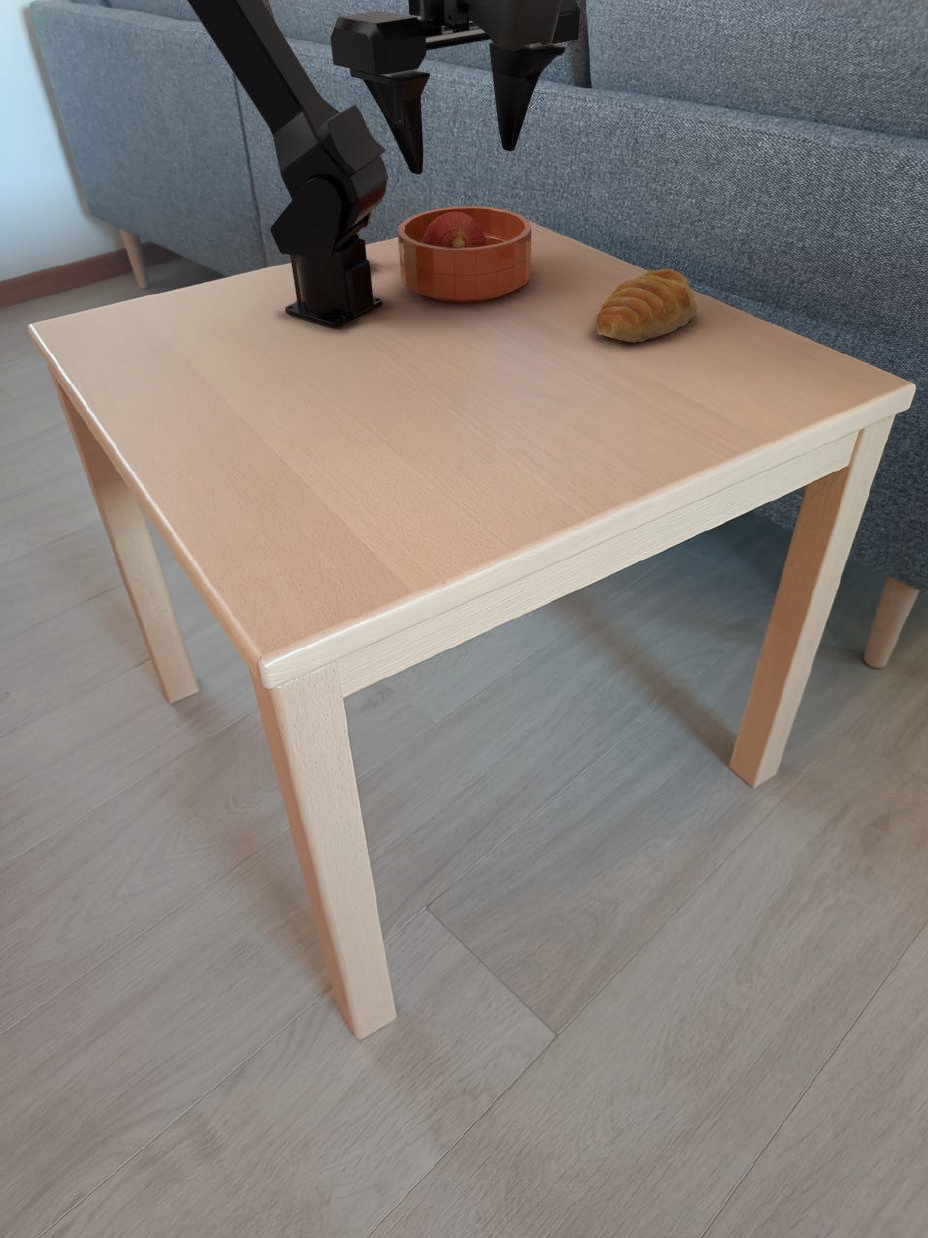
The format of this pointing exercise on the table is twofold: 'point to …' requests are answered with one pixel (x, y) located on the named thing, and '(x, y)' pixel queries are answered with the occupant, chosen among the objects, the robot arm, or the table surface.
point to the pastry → (647, 307)
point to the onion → (454, 232)
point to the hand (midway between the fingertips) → (463, 161)
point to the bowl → (467, 257)
